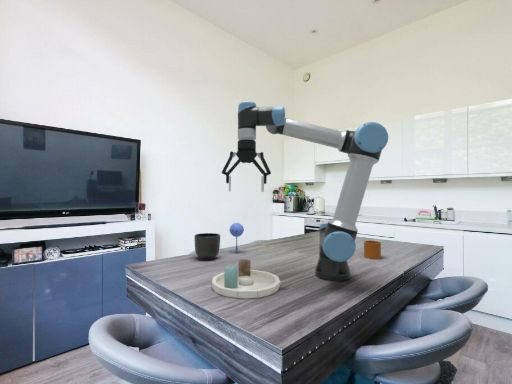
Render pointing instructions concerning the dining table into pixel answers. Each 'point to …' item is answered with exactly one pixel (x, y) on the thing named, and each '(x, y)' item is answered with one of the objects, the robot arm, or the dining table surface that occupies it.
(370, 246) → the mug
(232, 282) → the teal cylinder
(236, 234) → the baby rattle
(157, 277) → the dining table surface
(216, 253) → the planter
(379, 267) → the dining table surface
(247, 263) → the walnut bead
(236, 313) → the dining table surface
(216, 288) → the round cream tray
